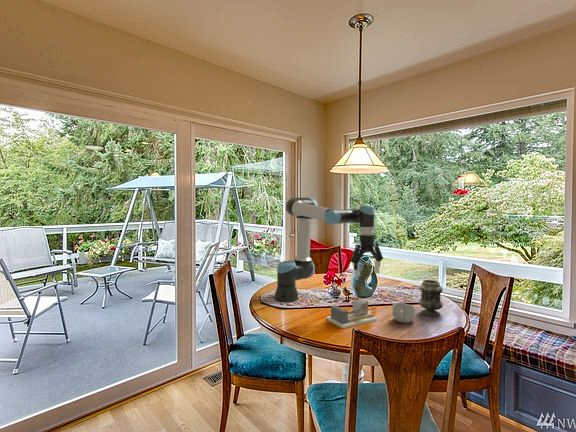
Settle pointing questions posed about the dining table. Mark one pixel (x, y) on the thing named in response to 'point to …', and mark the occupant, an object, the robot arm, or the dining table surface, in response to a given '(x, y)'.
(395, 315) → the teacup
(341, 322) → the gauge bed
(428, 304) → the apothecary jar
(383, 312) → the dining table surface
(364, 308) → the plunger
